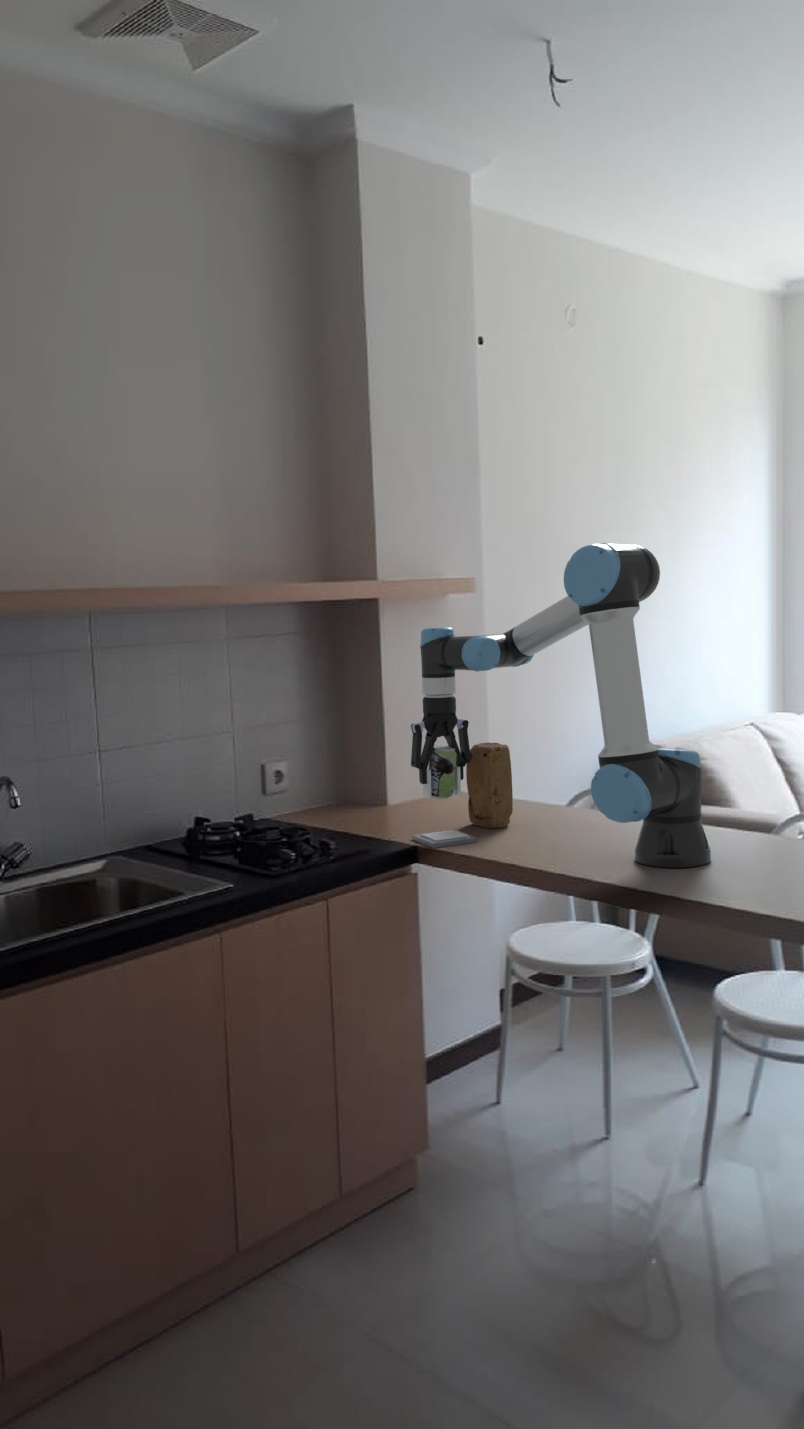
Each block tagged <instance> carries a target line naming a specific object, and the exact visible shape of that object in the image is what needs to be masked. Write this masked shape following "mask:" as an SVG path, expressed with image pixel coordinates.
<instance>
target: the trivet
mask: <svg viewBox="0 0 804 1429" xmlns="http://www.w3.org/2000/svg"><path fill="white" fill-rule="evenodd" d="M411 840H413V841H415V842H418V843H421V844H422V845H425V846H428V847H429V848H432V849H435V848H444V847H451V846H457V845H465V844H472V843H477V842H478V840H477V837H476V836H474V835H471V834H468V833H465V832H462V831H459V830H456V829H450V830H440V831H434V832H433V831H432V832H425V833H419V834H412V835H411Z"/></svg>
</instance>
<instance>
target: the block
mask: <svg viewBox="0 0 804 1429" xmlns="http://www.w3.org/2000/svg"><path fill="white" fill-rule="evenodd" d="M510 753H511V752H510V748H509V746H508V745H507V744H501V743H499V742H480V743H478V744H477V743H476V744H474V745H472V747H471V748H470V755H471V762H470V763H466V765H465V768H466V769H465V772H466V773H465V775H466V776H465V777H466V787H467V789H466V790H467V794H468V804H467V805H468V818H469V822H470V823H471V824H473V825H475V826H479V827H481V828H485V829H501V828H506V827H507V826H508V825H509V824H510V823H511V816H512V814H513V809H514V808H513V805H514V803H513V799H514V798H513V796H514V795H513V794H514V793H513V775H512V774H513V773H512V760H511V754H510Z"/></svg>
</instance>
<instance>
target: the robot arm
mask: <svg viewBox="0 0 804 1429" xmlns="http://www.w3.org/2000/svg"><path fill="white" fill-rule="evenodd" d="M660 570H661V569H660V565H659V562H658V560H657V557H655V555H654V554H653V553H652V552H651V551H650V550H649V549H647V548H646V547H644V546H641V545H638V544H630V543H628V544H625V543H624V544H623V543H621V544H619V543H607V542H600V543H592V544H587V545H584V546H581V547H580V548H579V549H577V550H576V551H575V552H574V553H573V554H572V555H571V557H570V559H569V560H568V561H567V563H566V565H565V568H564V572H563V587H564V591H565V592H566V596H565V597H563V598H562V599H561V598H560V600H558V601H557V602H555V603H553V604H551V605H550V606H548V607H546V608H545V609H543V610H542V611H540V612H537V613H536V614H534V615H533V616H531V617H529V618H528V619H526V620H524V621H522V622H521V623H519V624H517V625H516V626H514V627H513V628H511V629H509V630H507V631H506V632H504V633H497V634H485V635H481V634H480V635H464V636H463V635H461V636H459V635H458V636H457V635H455V631H454V628H453V627H451V626H450V627H449V626H443V627H442V626H440V627H439V626H437V627H426V628H423V629H422V630H421V632H420V646H419V649H420V658H421V686H422V689H421V690H422V692H421V693H422V695H424V697H423V698H422V712H423V717H422V720H421V722H416V723H411V725H410V728H411V731H412V742H411V755H410V756H411V759H410V767H412V768H416V769H418V772H419V773H418V774H419V775H418V777H419V778H418V779H419V783H420V784H421V785H422V790H423V792H422V794H423V795H422V796H423V798H425V799H427V800H430V799H431V800H432V795H431V770H429V761H430V758H431V754H432V751H433V747H434V746H435V743H436V742H437V740H438V738H441V737H443V738H444V739H445V741H446V743H447V746H449V747H451V748H455V752H456V754H457V758H456V767H455V776H454V785H453V794H452V795H456V796H462V785H461V783H462V782H461V781H463V780H464V768H465V767H466V763H470V762H471V755H470V749H471V748H470V740H469V735H468V729H469V721H468V720H467V719H459V718H458V717H457V715H456V712H457V698H456V697H455V696H454V695H455V694H457V691H456V671H472V672H473V671H474V672H485V671H491V670H493V669H498V668H500V669H501V668H509V667H511V668H513V667H514V668H516V667H520V666H522V665H523V666H524V665H526V664H528V663H530V662H531V660H532V659H533V657H534V655H535V654H537V653H540V652H541V651H542V650H545V649H546V648H548V647H550V646H552V645H554V644H555V643H558V642H559V641H561V640H563V639H564V638H566V637H568V636H570V635H573V634H574V633H575V632H577V631H580V630H581V629H583V628H584V627H586V626H588V629H589V637H590V643H591V645H590V646H591V651H592V652H591V653H592V658H593V659H592V660H593V667H594V673H595V680H596V689H597V697H598V698H597V699H598V705H599V712H600V719H601V727H602V735H603V741H604V746H603V748H602V749H601V750H600V752H599V754H598V755H597V757H598V764H599V769H597V770H596V772H595V773H594V776H592V779H591V780H590V781H591V782H590V793H591V796H592V797H591V798H592V800H593V803H594V805H595V807H596V808H597V810H598V811H599V812H600V813H601V814H603V815H604V817H605V818H607V819H608V820H611V821H612V822H616V823H620V824H626V823H628V824H629V823H637V822H640V821H642V823H641V824H642V825H641V829H640V831H639V833H638V834H639V835H638V839H637V843H636V845H635V847H634V860H635V861H636V862H637V863H639V864H641V865H645V866H649V867H655V868H656V867H657V868H667V869H668V868H671V869H672V868H673V869H677V868H680V869H681V868H693V867H699V866H703V865H707V864H709V863H710V862H711V860H712V858H711V856H712V855H711V854H712V852H711V848H710V846H709V841H708V839H707V835H706V833H705V830H704V827H703V824H702V766H701V765H702V764H701V756H700V754H699V752H697V751H696V750H692V749H681V748H669V747H668V748H667V747H666V748H665V747H664V748H663V747H657V746H656V745H655V744H653V742H651V741H650V737H649V729H648V723H647V722H648V721H647V714H646V705H645V699H644V691H643V685H642V684H643V682H642V676H641V675H642V674H641V669H640V668H641V667H640V660H639V653H638V652H639V651H638V644H637V640H636V639H637V636H636V630H635V623H634V618H635V616H636V615H637V614H638V612H639V611H640V610H641V608H640V607H641V606H640V603H641V602H643V601H645V600H646V599H648V598H649V597H651V595H652V594H653V593H654V592H655V590H656V589H657V587H658V585H659V582H660V579H661V578H660V576H661V571H660ZM455 728H457V734H458V742H457V740H456V738H457V737H456V735H455V734H456V733H455V731H454V729H455ZM424 729H425V730H426V734H425V738H424V739H425V741H424V744H422V742H423V731H424ZM458 744H459V745H458ZM422 746H423V748H422Z"/></svg>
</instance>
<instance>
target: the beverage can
mask: <svg viewBox="0 0 804 1429" xmlns="http://www.w3.org/2000/svg"><path fill="white" fill-rule="evenodd" d="M456 758H457V754H456V752H455V748H451V747H449V746H448V745H442V744H441V745H438V744H437V745H434V747H433V751H432V754H431V758H430V761H429V765H428V770H431V795H432V798H433V799H437V800H447V799H449V798H450V797H452V796H453V795H454V794H453V785H454V776H455V767H456Z"/></svg>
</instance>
